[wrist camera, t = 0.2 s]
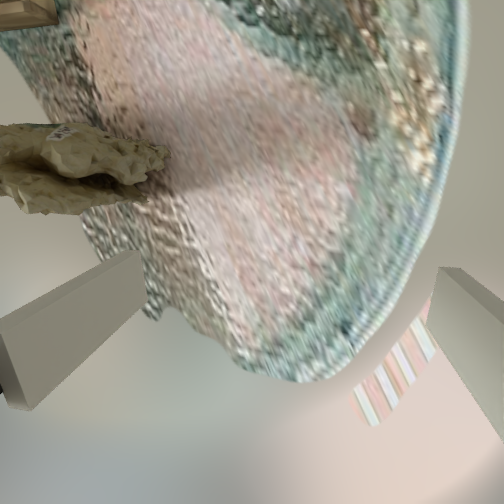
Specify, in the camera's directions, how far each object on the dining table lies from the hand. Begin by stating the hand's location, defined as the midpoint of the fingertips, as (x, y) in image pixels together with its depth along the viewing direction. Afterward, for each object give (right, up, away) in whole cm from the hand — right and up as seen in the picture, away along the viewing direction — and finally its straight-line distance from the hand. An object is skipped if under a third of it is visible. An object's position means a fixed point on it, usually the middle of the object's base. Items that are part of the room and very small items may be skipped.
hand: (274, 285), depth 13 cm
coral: (-23, +15, +30) cm, 41 cm away
